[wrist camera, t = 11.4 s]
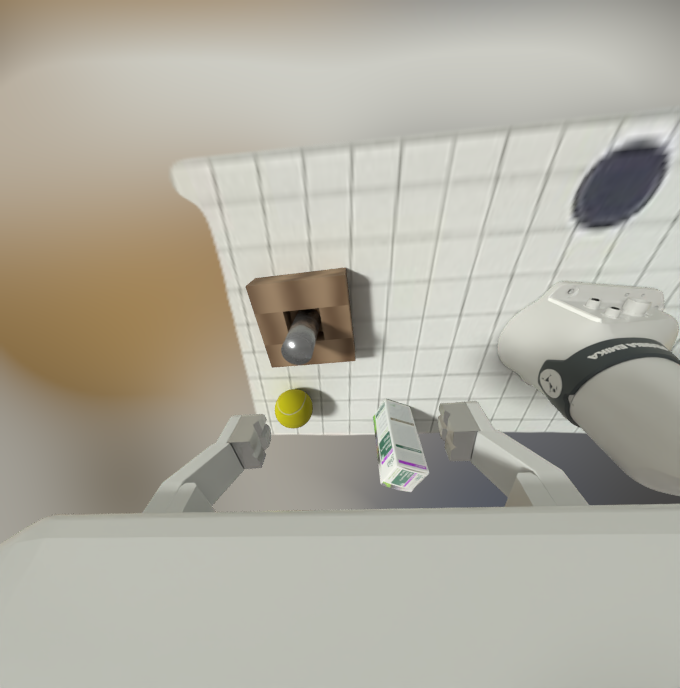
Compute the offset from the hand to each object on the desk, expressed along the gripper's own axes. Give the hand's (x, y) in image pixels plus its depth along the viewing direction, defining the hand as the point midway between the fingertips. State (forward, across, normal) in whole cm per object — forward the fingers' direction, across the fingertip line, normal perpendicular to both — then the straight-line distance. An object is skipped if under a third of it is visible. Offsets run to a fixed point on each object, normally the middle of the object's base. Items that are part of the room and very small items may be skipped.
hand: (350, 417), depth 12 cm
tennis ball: (+29, +14, +24) cm, 40 cm away
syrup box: (+29, -5, +30) cm, 42 cm away
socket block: (+29, +8, +7) cm, 31 cm away
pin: (+28, +8, +7) cm, 30 cm away
